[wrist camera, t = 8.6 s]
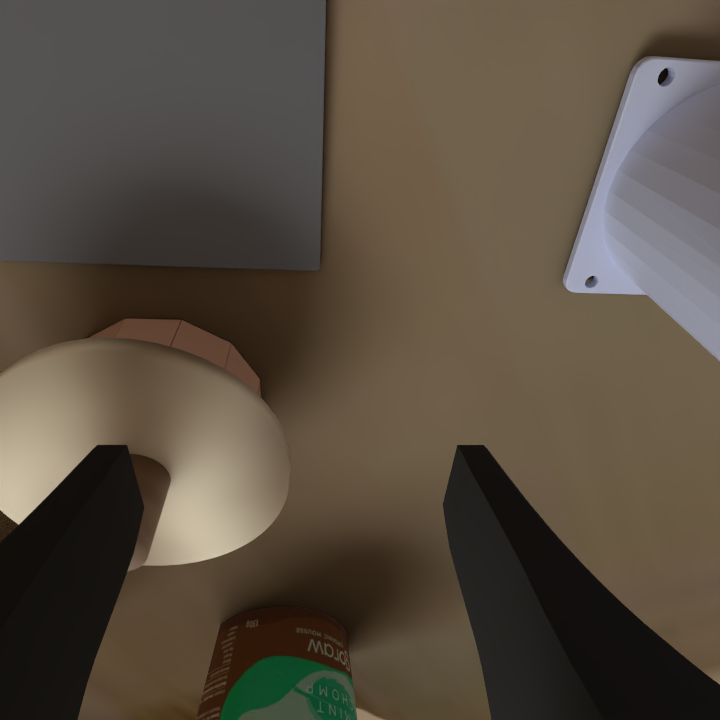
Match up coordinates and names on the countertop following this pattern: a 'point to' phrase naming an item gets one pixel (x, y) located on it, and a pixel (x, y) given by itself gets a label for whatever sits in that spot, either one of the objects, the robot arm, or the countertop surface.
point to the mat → (162, 132)
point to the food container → (279, 668)
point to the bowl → (186, 343)
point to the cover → (146, 441)
